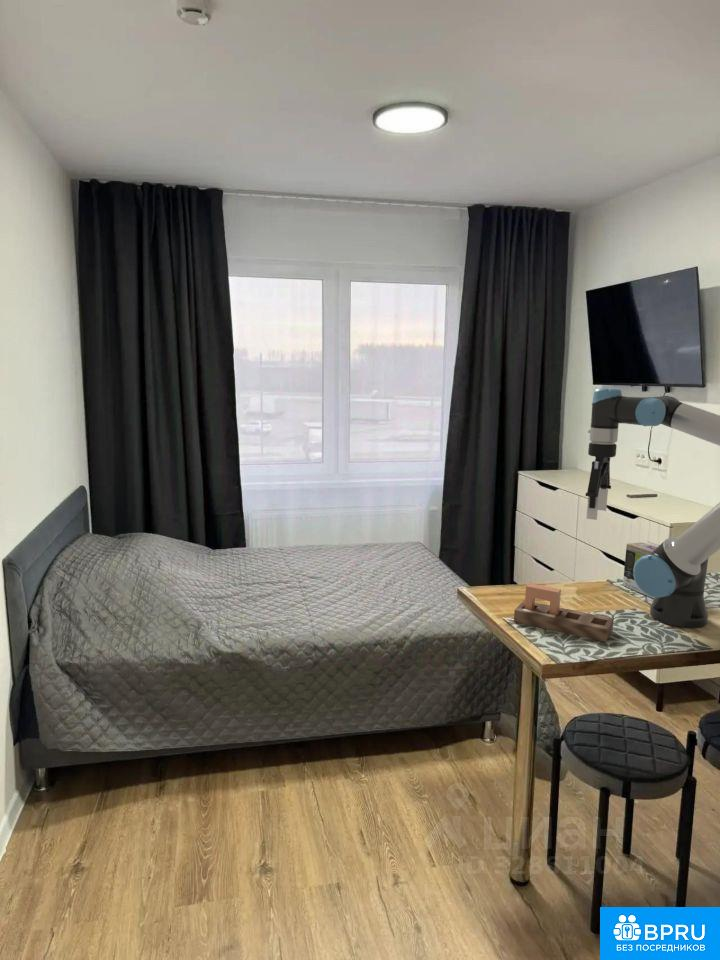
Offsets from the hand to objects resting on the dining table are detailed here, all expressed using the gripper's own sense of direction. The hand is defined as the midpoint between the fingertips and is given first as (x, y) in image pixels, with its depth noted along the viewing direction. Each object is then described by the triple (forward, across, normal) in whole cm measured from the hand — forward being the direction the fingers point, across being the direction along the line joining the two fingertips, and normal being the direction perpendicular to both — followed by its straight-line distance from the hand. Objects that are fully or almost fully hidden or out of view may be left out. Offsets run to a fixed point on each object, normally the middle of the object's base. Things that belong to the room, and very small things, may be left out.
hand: (596, 514), depth 194 cm
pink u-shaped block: (+29, +19, -9) cm, 36 cm away
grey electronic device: (+29, -26, +14) cm, 41 cm away
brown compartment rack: (+29, +19, -3) cm, 35 cm away
